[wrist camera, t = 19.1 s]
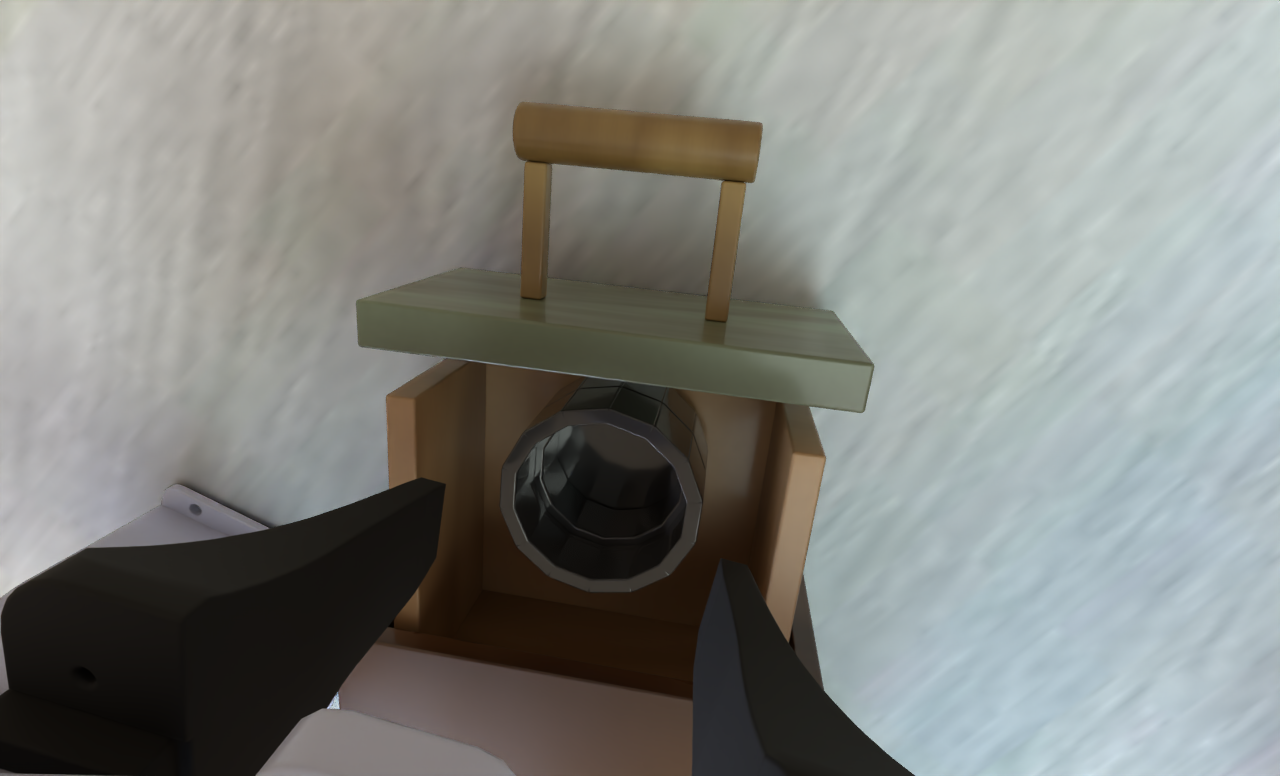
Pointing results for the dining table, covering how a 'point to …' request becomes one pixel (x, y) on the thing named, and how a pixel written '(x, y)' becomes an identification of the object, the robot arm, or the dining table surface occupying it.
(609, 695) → the cabinet
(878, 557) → the dining table surface
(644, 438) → the cup
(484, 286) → the drawer
